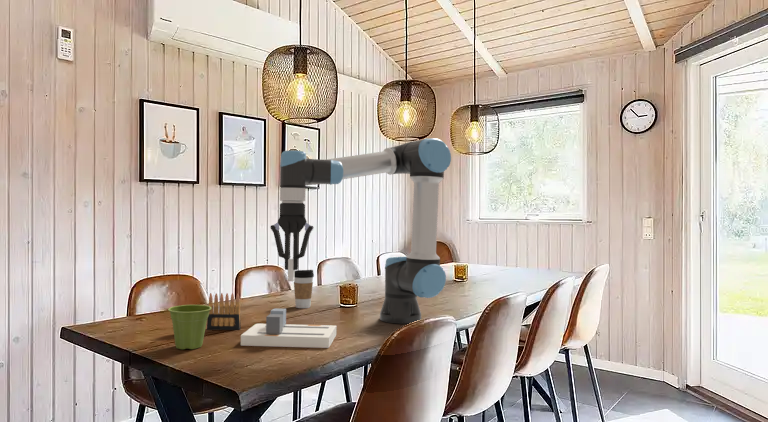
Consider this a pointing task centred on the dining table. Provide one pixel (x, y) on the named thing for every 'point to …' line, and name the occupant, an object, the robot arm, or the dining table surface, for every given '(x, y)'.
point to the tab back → (280, 311)
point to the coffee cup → (303, 288)
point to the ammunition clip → (224, 313)
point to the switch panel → (290, 336)
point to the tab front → (274, 323)
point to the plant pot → (189, 325)
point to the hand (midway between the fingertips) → (291, 280)
